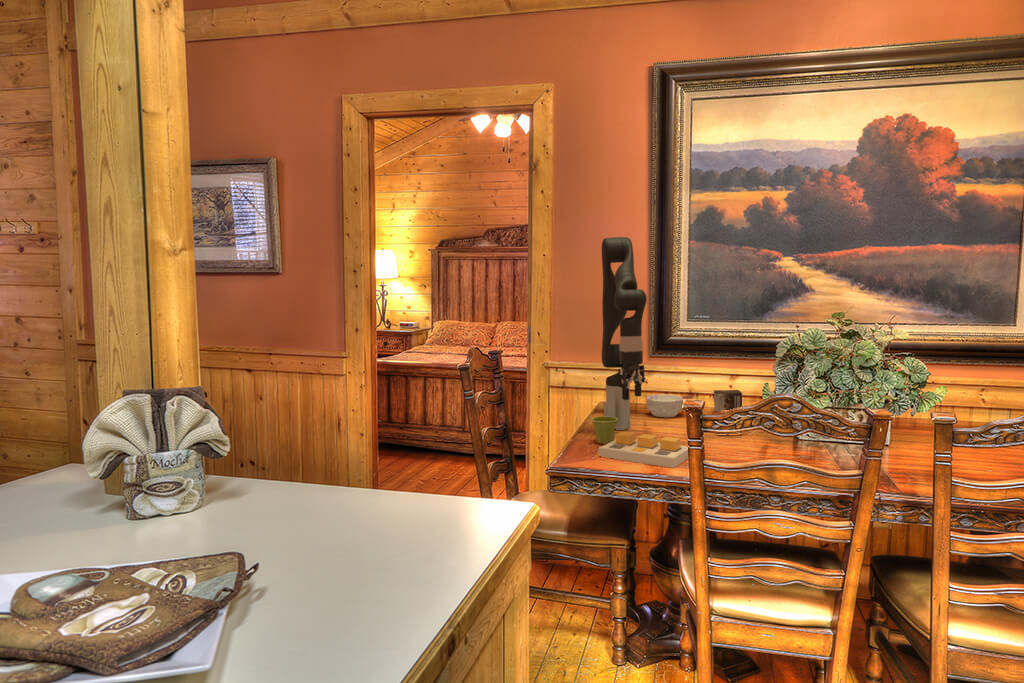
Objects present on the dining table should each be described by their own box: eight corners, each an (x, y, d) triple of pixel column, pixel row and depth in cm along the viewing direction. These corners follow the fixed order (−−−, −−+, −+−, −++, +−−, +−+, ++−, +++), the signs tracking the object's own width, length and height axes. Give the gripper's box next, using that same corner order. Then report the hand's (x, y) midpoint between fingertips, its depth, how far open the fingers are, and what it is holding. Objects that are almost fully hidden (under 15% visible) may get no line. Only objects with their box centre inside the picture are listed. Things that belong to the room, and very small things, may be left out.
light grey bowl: (686, 419, 271) (686, 400, 270) (649, 419, 272) (648, 400, 271) (679, 411, 286) (679, 393, 285) (644, 412, 287) (644, 394, 286)
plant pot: (593, 446, 232) (593, 422, 231) (590, 439, 241) (590, 416, 240) (620, 445, 232) (619, 421, 231) (616, 439, 241) (615, 415, 240)
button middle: (637, 445, 217) (637, 437, 217) (643, 442, 222) (643, 433, 221) (651, 447, 215) (651, 438, 214) (657, 444, 219) (657, 435, 218)
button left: (615, 443, 222) (615, 434, 222) (622, 439, 226) (622, 431, 226) (629, 444, 219) (629, 436, 219) (635, 441, 223) (635, 432, 223)
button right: (660, 448, 213) (660, 439, 213) (666, 445, 217) (666, 436, 217) (675, 450, 210) (675, 441, 210) (680, 447, 214) (680, 438, 214)
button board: (598, 456, 218) (598, 446, 217) (620, 446, 231) (620, 436, 230) (673, 467, 203) (673, 457, 202) (692, 455, 216) (692, 445, 215)
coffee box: (738, 431, 246) (738, 389, 245) (742, 436, 240) (743, 392, 238) (713, 432, 247) (713, 389, 246) (717, 436, 241) (717, 392, 239)
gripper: (631, 347, 226) (632, 394, 227) (610, 351, 214) (611, 400, 215) (651, 348, 221) (651, 395, 222) (630, 351, 210) (631, 401, 211)
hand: (632, 397), depth 219 cm, fingers open, 8 cm apart
